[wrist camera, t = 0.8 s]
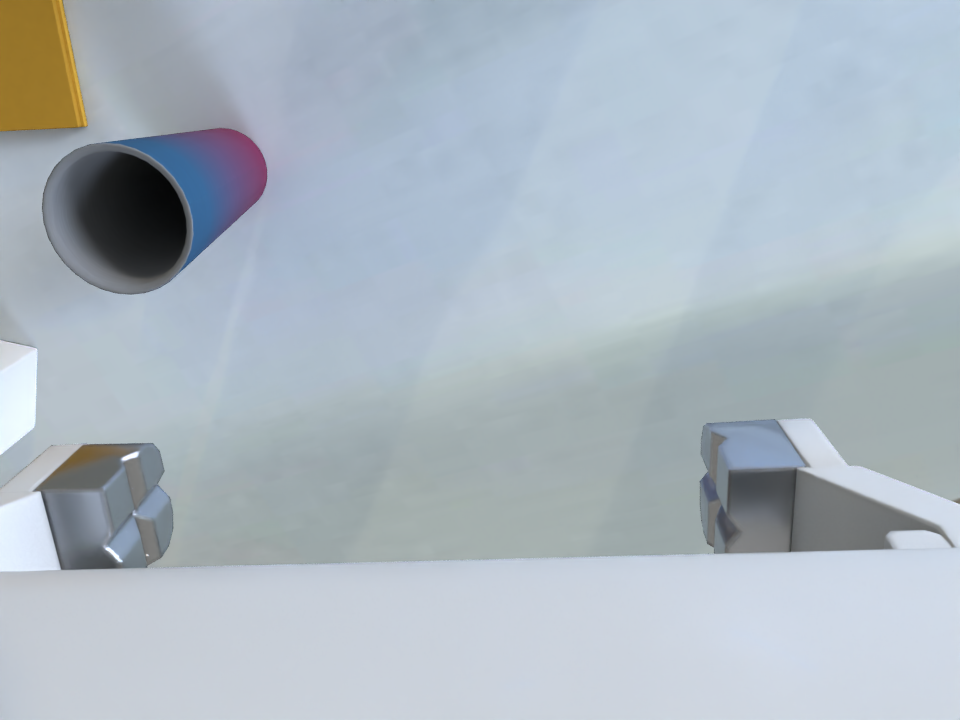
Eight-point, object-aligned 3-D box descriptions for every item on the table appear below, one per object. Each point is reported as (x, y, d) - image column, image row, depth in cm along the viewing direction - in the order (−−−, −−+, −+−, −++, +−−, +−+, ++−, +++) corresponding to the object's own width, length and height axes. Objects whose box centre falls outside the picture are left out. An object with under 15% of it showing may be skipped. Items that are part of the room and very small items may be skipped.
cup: (192, 236, 54) (76, 308, 40) (154, 127, 52) (16, 162, 38) (296, 213, 53) (214, 278, 39) (262, 100, 51) (161, 126, 37)
